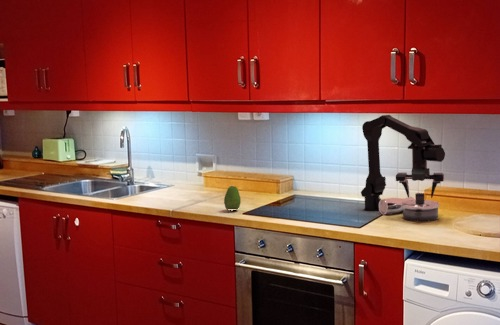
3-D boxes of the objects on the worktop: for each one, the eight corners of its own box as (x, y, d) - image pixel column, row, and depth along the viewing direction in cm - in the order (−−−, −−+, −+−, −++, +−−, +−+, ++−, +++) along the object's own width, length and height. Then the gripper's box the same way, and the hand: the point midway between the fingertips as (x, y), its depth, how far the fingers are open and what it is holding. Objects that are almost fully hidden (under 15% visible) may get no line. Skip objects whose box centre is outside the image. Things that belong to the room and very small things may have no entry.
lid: (399, 209, 240) (398, 196, 239) (403, 202, 253) (403, 190, 253) (437, 210, 234) (437, 197, 234) (440, 202, 248) (440, 190, 247)
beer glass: (418, 203, 255) (389, 207, 249) (412, 214, 259) (383, 218, 254) (410, 192, 259) (381, 195, 254) (405, 203, 264) (376, 206, 258)
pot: (399, 223, 237) (399, 211, 236) (405, 213, 254) (404, 202, 253) (436, 224, 232) (436, 212, 231) (439, 214, 249) (439, 202, 248)
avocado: (243, 211, 275) (242, 186, 273) (227, 213, 272) (225, 188, 271) (238, 208, 282) (237, 183, 281) (222, 210, 280) (221, 185, 279)
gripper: (393, 162, 238) (394, 200, 240) (442, 162, 231) (442, 202, 233) (397, 159, 248) (397, 195, 250) (443, 159, 241) (444, 196, 243)
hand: (420, 197), depth 244 cm, fingers open, 9 cm apart
